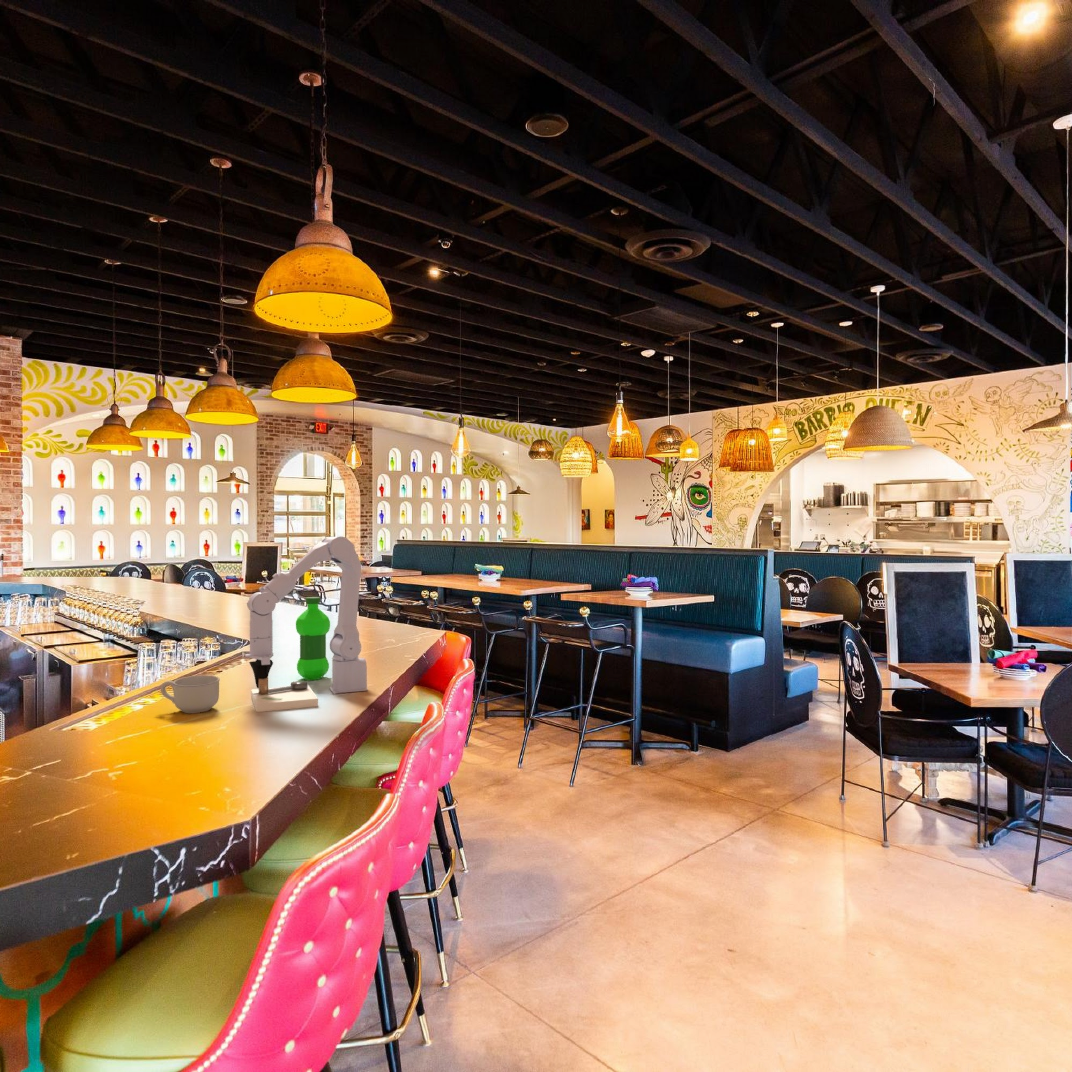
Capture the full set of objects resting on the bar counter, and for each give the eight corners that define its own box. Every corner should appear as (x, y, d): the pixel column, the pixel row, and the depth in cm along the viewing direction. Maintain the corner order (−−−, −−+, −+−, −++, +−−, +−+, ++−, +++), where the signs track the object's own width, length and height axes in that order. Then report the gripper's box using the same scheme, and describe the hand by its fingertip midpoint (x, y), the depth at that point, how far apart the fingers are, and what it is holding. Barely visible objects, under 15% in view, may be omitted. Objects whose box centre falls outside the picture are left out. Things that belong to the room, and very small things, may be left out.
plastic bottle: (288, 680, 223) (288, 598, 223) (308, 674, 233) (308, 595, 233) (317, 682, 220) (317, 599, 220) (336, 676, 230) (336, 596, 230)
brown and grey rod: (303, 685, 204) (303, 671, 204) (310, 688, 201) (310, 673, 201) (250, 693, 194) (250, 678, 194) (256, 696, 191) (256, 680, 191)
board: (308, 691, 207) (308, 684, 207) (318, 706, 190) (317, 698, 190) (251, 696, 201) (251, 689, 201) (256, 712, 183) (256, 703, 183)
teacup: (227, 706, 190) (227, 675, 190) (204, 716, 179) (204, 683, 179) (177, 704, 191) (177, 674, 191) (151, 715, 181) (151, 682, 181)
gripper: (241, 634, 201) (241, 684, 201) (249, 641, 188) (249, 694, 188) (268, 633, 204) (268, 681, 204) (278, 639, 191) (278, 691, 191)
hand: (261, 687), depth 196 cm, fingers closed
